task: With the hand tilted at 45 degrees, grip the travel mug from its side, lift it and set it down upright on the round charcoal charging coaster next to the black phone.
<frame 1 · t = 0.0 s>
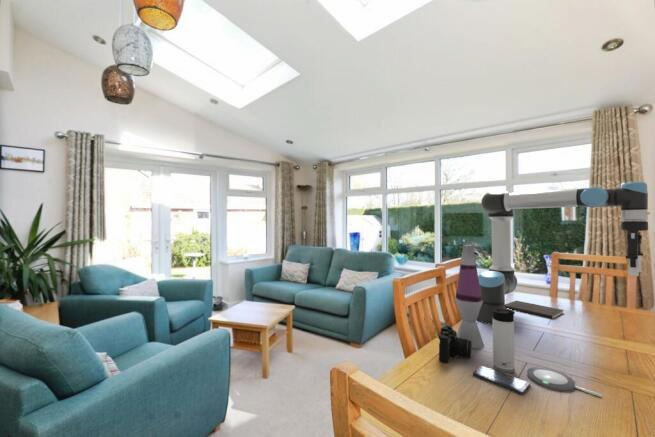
hand: (634, 273, 118), 28 cm above the table, tool pointing down, fingers open, 13 cm apart
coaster: (550, 380, 92), on the table
lamp: (469, 343, 120), on the table
hardcover book: (532, 312, 161), on the table
camera: (455, 357, 108), on the table
travel mug: (504, 369, 99), on the table
phone: (500, 380, 92), on the table
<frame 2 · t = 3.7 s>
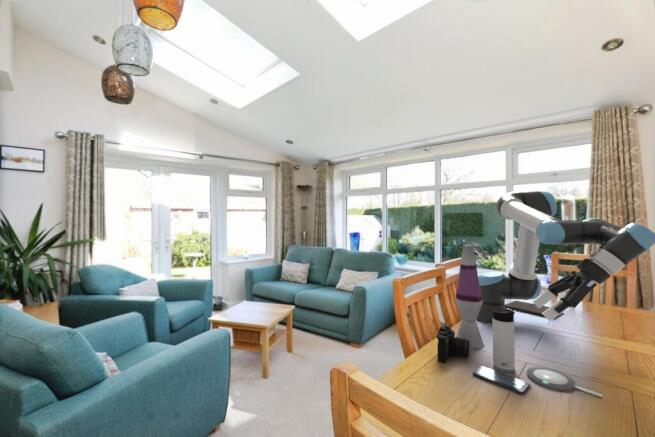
hand: (540, 310, 95), 21 cm above the table, tool tilted 45°, fingers open, 13 cm apart
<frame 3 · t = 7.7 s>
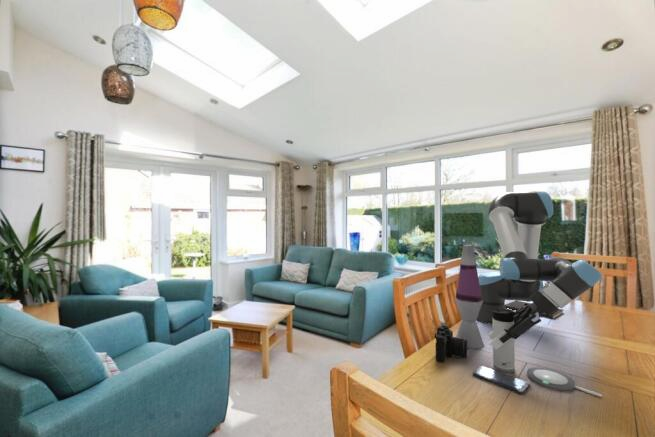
hand: (491, 341, 101), 8 cm above the table, tool tilted 45°, fingers closed on travel mug, 6 cm apart
travel mug: (504, 369, 99), on the table, touching gripper
when the fingers open (10 cm above the table, at t = 12.7 s): travel mug stays where it is, resting on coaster.
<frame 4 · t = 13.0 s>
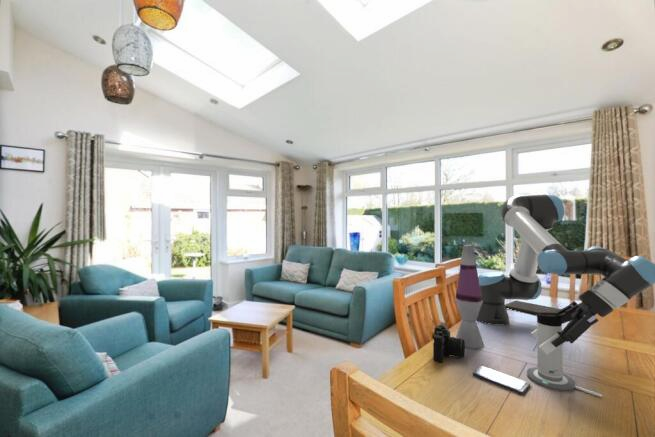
hand: (538, 343, 93), 11 cm above the table, tool tilted 45°, fingers open, 10 cm apart
travel mug: (550, 377, 92), point 1 cm above the table, touching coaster
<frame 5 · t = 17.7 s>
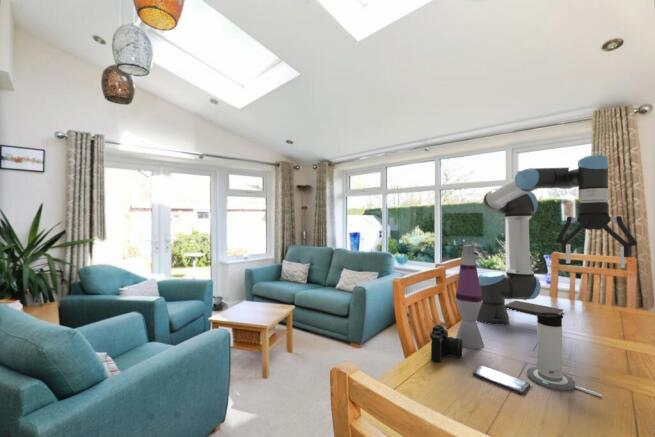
hand: (594, 265, 99), 35 cm above the table, tool pointing down, fingers open, 13 cm apart
at the end: travel mug inside the target area on the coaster (0.3 cm from its centre), point 0.9 cm above the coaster's base; travel mug tilted 0°; the gripper is holding nothing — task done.
